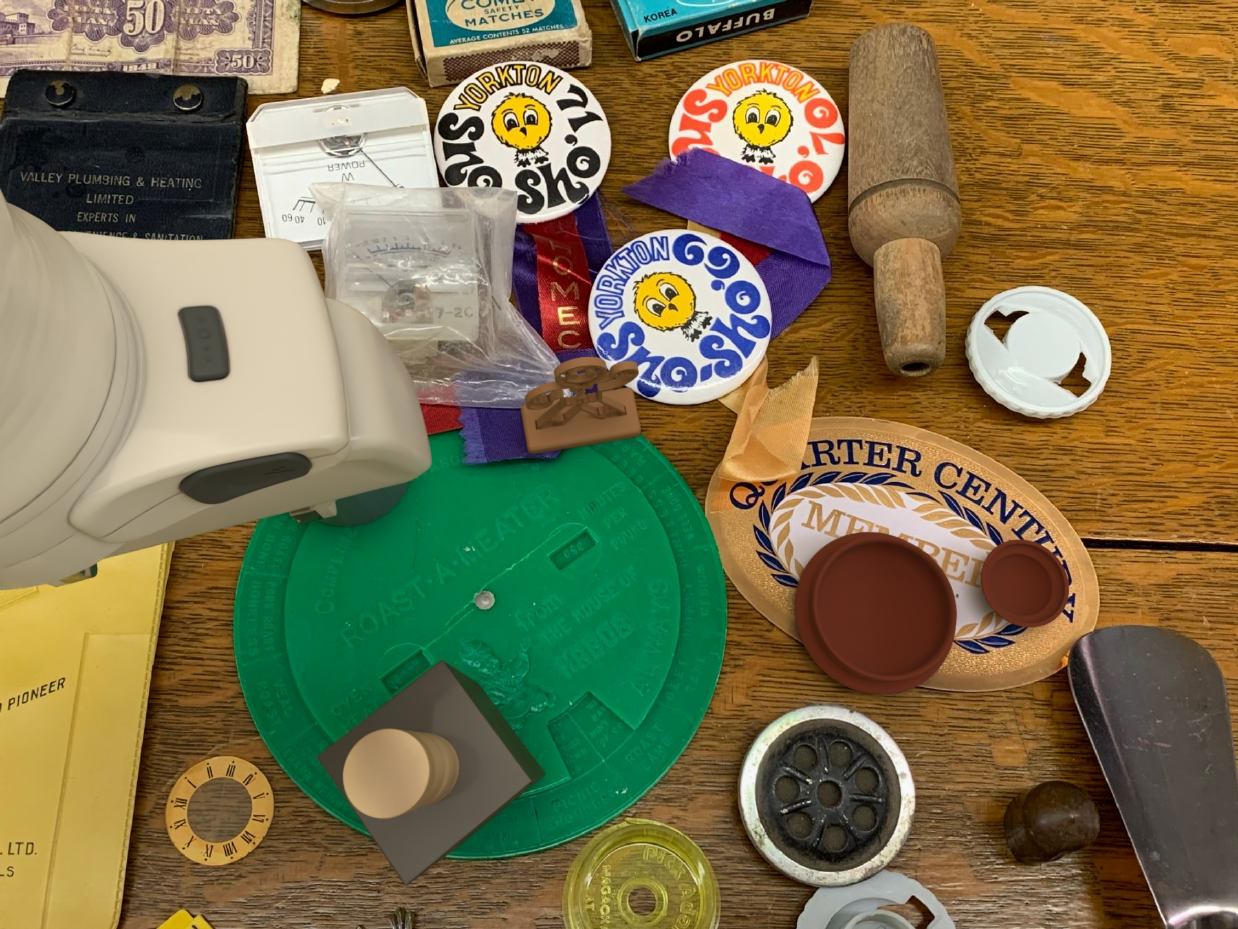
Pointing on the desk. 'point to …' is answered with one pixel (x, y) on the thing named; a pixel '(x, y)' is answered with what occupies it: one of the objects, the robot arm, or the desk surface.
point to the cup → (366, 506)
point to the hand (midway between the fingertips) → (198, 531)
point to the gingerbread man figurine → (581, 407)
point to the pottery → (909, 606)
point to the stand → (486, 767)
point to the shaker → (399, 772)
